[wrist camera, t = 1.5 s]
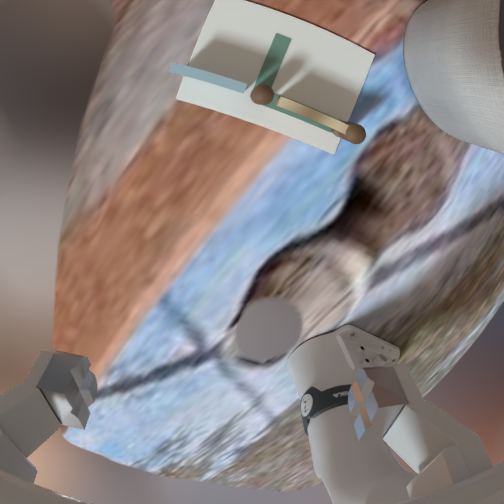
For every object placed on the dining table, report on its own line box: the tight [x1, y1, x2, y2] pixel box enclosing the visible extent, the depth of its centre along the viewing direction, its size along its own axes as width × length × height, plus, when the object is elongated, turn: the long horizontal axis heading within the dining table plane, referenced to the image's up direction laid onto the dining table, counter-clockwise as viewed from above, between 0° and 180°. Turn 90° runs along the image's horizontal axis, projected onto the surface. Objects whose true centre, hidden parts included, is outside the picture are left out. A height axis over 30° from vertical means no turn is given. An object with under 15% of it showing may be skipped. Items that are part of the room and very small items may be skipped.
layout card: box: [176, 0, 375, 155], centre depth 34 cm, size 21×15×1 cm
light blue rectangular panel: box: [169, 62, 247, 94], centre depth 31 cm, size 8×1×5 cm, turn 70°
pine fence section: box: [250, 85, 366, 144], centre depth 34 cm, size 13×2×7 cm, turn 70°
